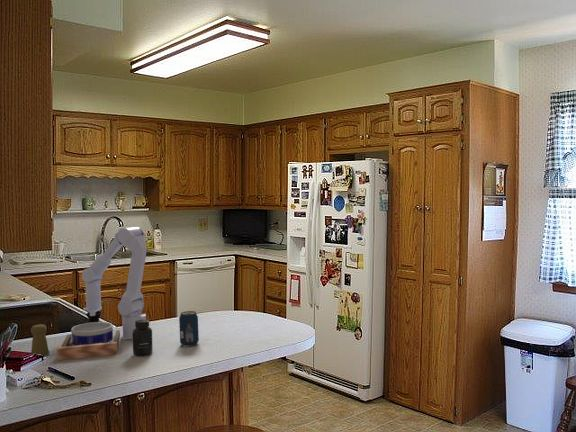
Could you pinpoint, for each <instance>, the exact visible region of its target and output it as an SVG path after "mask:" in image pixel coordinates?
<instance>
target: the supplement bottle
mask: <svg viewBox="0 0 576 432" xmlns="http://www.w3.org/2000/svg"><path fill="white" fill-rule="evenodd" d="M135 327H136V328H135V329H134V330H133V339H132V354H133V356H134V357H148V356H151V355H152V354H153V351H154V350H153V348H154V347H153V346H154V345H153V329H152V327H150V320H149V319H146V320H137V321H135Z"/></svg>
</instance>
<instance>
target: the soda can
mask: <svg viewBox="0 0 576 432" xmlns="http://www.w3.org/2000/svg"><path fill="white" fill-rule="evenodd" d="M178 322H179V324H178V325H179V343H180V344H181V345H182V346H183V347H194V346H196V345H197V344H199V343H198V342H199V340H200V338H199V316H198V314H197V312H196V311H194V310H190V311H189V310H187V311H182V312H180V316H179V321H178Z"/></svg>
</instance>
